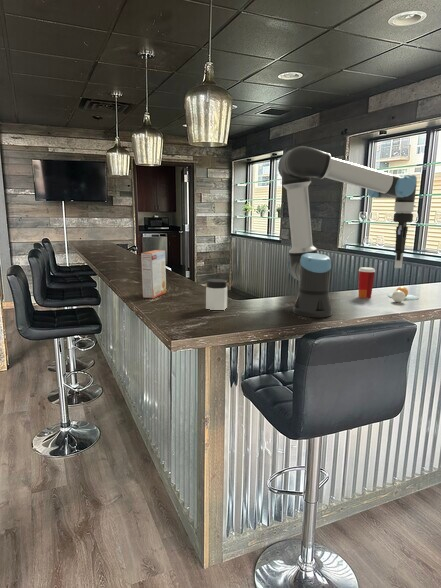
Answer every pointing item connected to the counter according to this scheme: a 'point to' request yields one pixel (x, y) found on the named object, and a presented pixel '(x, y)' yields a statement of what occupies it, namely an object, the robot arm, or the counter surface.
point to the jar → (216, 294)
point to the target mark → (408, 297)
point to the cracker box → (153, 273)
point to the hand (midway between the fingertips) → (398, 267)
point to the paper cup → (366, 281)
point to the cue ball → (398, 296)
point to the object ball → (403, 290)
